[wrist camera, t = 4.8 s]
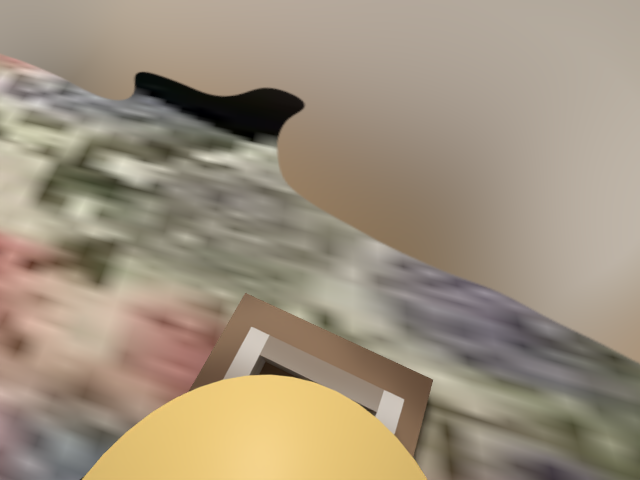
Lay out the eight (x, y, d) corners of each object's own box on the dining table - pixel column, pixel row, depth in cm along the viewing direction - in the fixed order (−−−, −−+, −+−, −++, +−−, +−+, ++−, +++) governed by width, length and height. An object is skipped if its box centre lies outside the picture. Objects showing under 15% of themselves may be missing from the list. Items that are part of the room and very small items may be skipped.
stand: (352, 649, 14) (372, 745, 10) (127, 514, 16) (70, 552, 12) (423, 381, 20) (456, 376, 16) (248, 299, 21) (236, 275, 17)
